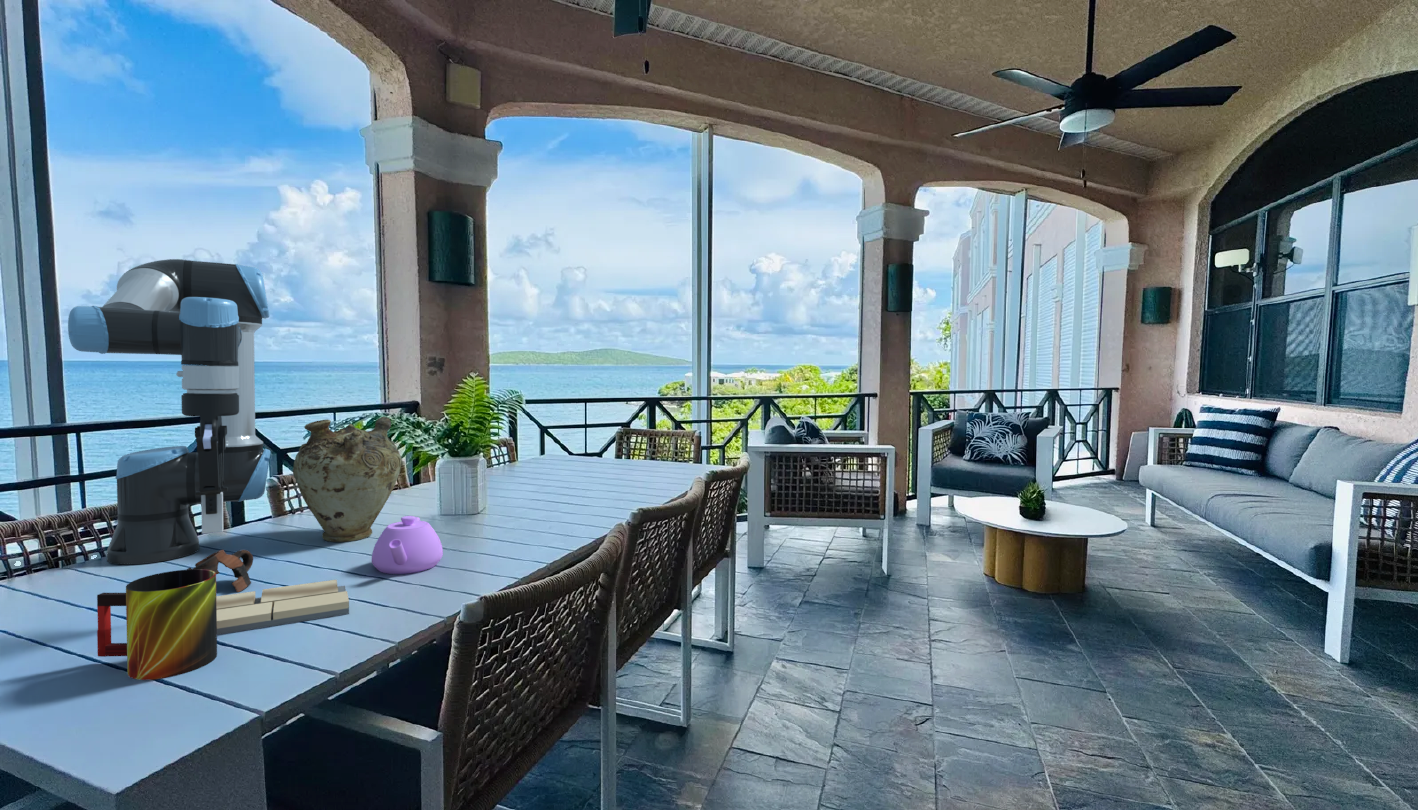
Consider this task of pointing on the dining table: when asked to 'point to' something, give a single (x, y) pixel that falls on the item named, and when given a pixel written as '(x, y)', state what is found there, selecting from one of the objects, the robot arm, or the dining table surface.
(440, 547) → the teapot
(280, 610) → the floor panel
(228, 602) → the plank near
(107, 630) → the mug
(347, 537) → the vase
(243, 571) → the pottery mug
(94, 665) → the dining table surface
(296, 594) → the plank far
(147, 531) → the robot arm
